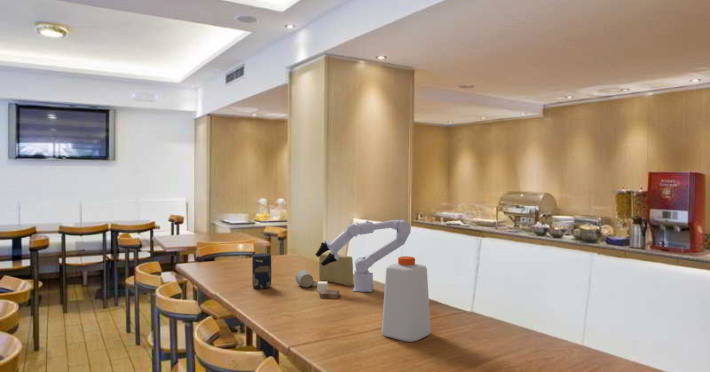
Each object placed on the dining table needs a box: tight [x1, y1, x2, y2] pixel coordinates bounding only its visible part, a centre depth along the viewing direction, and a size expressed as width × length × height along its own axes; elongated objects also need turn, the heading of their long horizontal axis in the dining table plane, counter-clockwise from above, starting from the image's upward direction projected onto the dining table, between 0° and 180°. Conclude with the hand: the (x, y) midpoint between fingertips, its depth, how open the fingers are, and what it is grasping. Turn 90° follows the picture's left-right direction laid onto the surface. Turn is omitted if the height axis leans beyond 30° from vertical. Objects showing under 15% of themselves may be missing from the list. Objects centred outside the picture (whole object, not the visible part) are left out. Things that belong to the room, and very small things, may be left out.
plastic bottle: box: [381, 255, 432, 343], centre depth 173 cm, size 15×15×28 cm
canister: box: [251, 252, 272, 290], centre depth 244 cm, size 10×10×18 cm
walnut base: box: [319, 289, 340, 300], centre depth 228 cm, size 8×8×2 cm
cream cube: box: [316, 280, 329, 293], centre depth 237 cm, size 4×4×4 cm
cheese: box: [318, 251, 354, 287], centre depth 257 cm, size 22×10×15 cm, turn 42°
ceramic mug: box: [295, 269, 318, 289], centre depth 248 cm, size 11×8×8 cm
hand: (319, 260), depth 240 cm, fingers open, 7 cm apart
